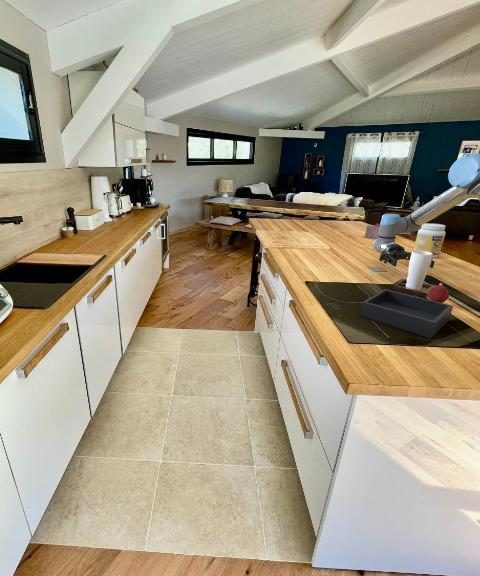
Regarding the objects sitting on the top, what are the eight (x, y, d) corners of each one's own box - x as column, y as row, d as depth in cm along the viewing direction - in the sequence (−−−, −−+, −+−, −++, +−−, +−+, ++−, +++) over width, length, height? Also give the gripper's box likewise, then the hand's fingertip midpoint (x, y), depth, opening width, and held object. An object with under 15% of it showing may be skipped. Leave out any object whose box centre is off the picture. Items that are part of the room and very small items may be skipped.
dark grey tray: (449, 320, 100) (453, 305, 98) (431, 338, 90) (436, 323, 88) (381, 301, 115) (384, 288, 113) (359, 315, 104) (362, 301, 102)
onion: (449, 308, 108) (455, 286, 106) (430, 307, 109) (436, 285, 107) (439, 301, 114) (446, 281, 111) (422, 300, 115) (428, 280, 112)
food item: (386, 237, 218) (389, 223, 215) (386, 239, 212) (389, 225, 208) (364, 235, 225) (367, 222, 221) (364, 237, 218) (366, 223, 215)
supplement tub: (430, 259, 165) (438, 227, 159) (407, 254, 176) (414, 224, 170) (444, 256, 170) (453, 225, 164) (421, 251, 181) (428, 222, 175)
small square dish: (436, 289, 125) (437, 285, 125) (426, 297, 118) (427, 293, 117) (401, 281, 134) (402, 278, 134) (390, 288, 127) (390, 284, 126)
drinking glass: (402, 285, 130) (410, 249, 125) (421, 287, 128) (431, 251, 122) (404, 290, 125) (413, 253, 119) (424, 292, 122) (434, 255, 117)
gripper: (420, 260, 145) (446, 274, 125) (362, 258, 149) (378, 271, 130) (424, 244, 142) (451, 256, 123) (365, 242, 147) (382, 253, 127)
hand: (414, 263), depth 126 cm, fingers open, 13 cm apart
